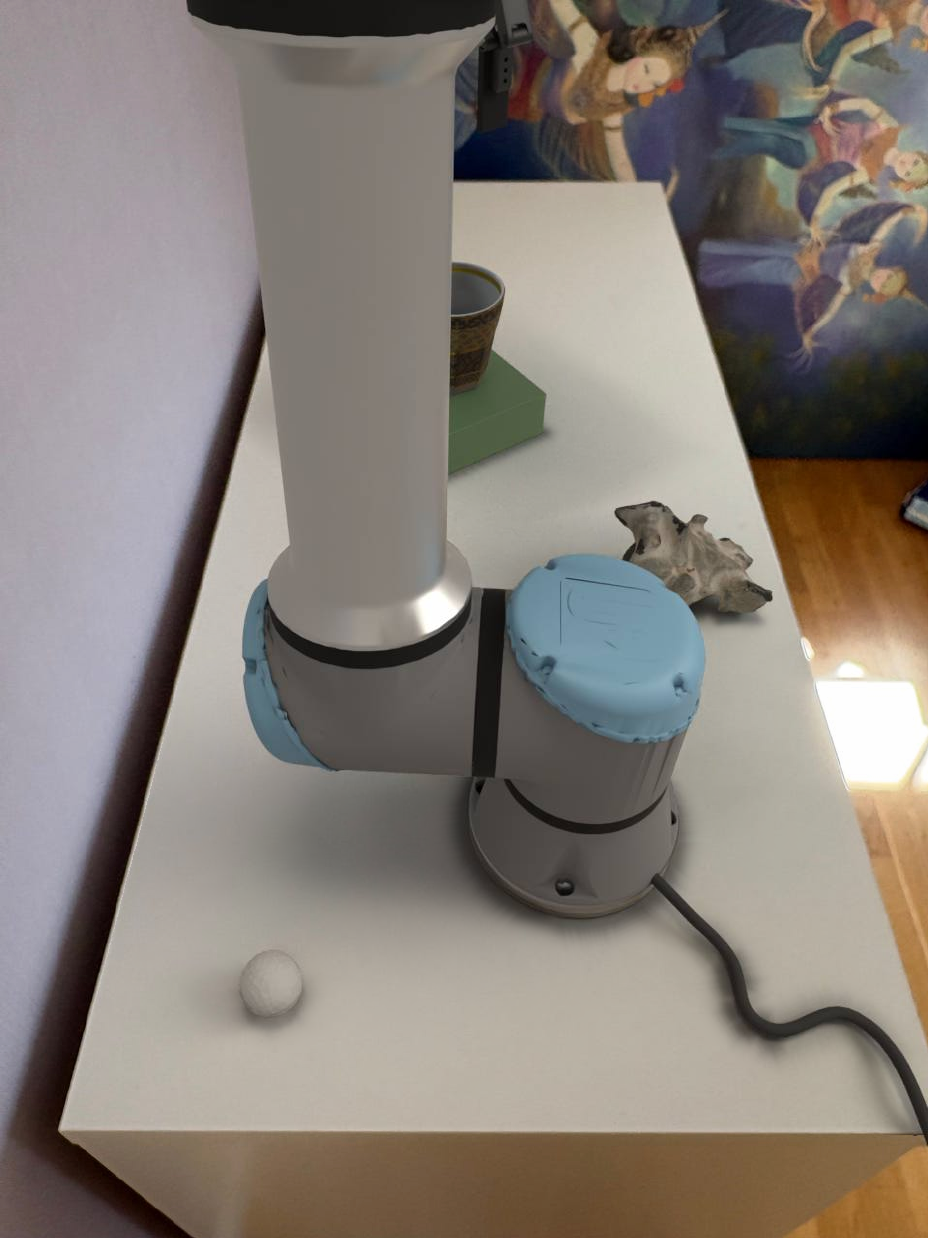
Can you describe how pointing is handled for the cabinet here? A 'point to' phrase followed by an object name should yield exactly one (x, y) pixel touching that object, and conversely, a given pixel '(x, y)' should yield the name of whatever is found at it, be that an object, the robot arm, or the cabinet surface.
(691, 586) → the decorative stone
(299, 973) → the golf ball
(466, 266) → the ceramic cup
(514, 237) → the cabinet surface
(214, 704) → the cabinet surface
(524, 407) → the green block
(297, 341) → the robot arm
